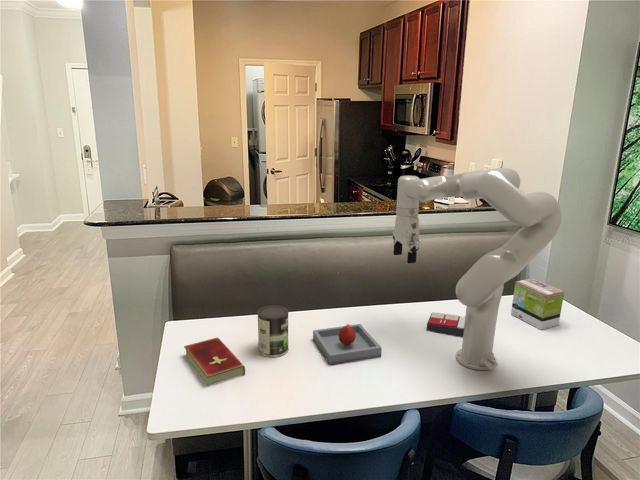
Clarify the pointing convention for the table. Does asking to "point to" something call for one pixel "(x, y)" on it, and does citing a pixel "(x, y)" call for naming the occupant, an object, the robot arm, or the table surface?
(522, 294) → the tea box
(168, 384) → the table surface
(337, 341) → the tray
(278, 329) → the coffee can
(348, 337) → the onion
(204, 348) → the hardcover book
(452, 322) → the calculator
